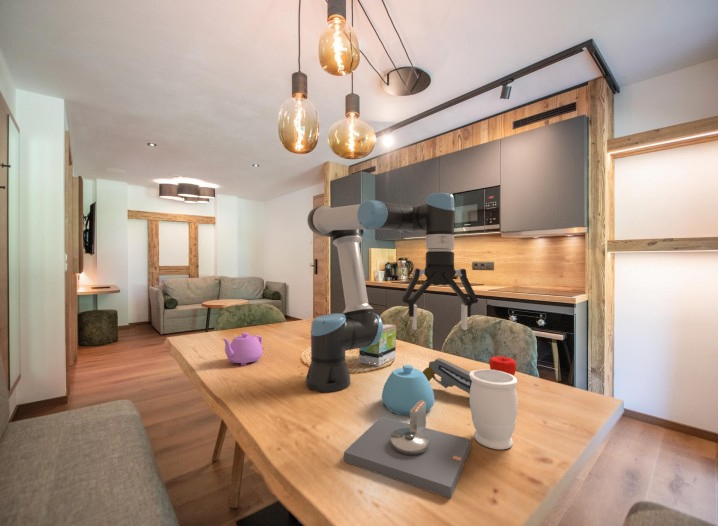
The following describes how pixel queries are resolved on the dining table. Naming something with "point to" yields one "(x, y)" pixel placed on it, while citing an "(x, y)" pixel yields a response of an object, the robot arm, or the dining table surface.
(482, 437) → the jar
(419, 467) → the board
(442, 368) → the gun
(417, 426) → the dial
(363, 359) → the tea box
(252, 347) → the teapot
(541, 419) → the dining table surface
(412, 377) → the sugar bowl
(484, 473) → the dining table surface
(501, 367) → the apple
